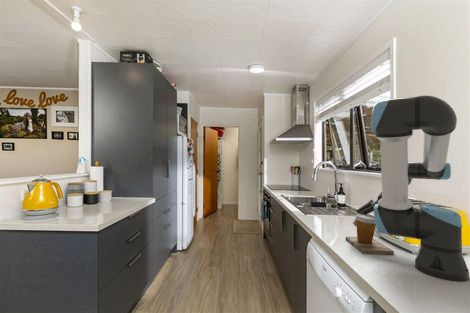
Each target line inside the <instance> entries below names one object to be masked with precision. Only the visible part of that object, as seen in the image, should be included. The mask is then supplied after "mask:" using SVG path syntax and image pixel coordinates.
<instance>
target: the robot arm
mask: <svg viewBox="0 0 470 313" xmlns="http://www.w3.org/2000/svg"><path fill="white" fill-rule="evenodd" d="M457 123H458V121H457V115H456V112H455V111H454V109H453V107H451V105H450V104H448V103H447V101H445V100H444V99H441V98H439V97H436V96H432V95H419V96H412V97H411V96H410V97H403V98H392V99H386V100H385V99H384V100H381V101H378V102H375V104H374V105H373V108H372V112H371V119H370V132H371V133H375V137H376V139H377V140H378V141H380V168H381V169H380V170H381V171H380V172H381V173H380V174H381V192H380V193H379V194H378V196H377V200H376V201H374V200H373V199H370V200H369V201H368V202H367V203H365V204H363V205H362V206H361V207H359V208H357V210H356V213H357V214H365V215H369V214H370V213H373V215H374V218H375V224H376V227H375V231H374V232H376V233H377V235H381V234H385V235H388V236H396V237H403V238H408V239H414V240H415V239H416V240H420V241H419V242H420V245H419V249H418V251H417V254H416V257H415V258H414V267H415V268H416V269H417V270H419V271H421V272H422V273H424V274H426V275H429V276H432V277H435V278H437V279H438V278H439V279H442V280H443V279H444V280H448V281H456V282H465V281H468V280H470V270H469V268H468V266H467V263H466V260H465V258H464V256H463V243H462V242H463V240H462V238H463V236H462V234H463V233H462V231H463V230H462V228H463V224H462V216H461V214H460V213H458V212H456V211H455V210H452V209H448V208H446V207H445V208H444V207H440V206H435V205H430V204H429V205H427V204H420V206H419V208H418V207H414V204H413V202H412V201H411V200H410V199H409V185H410V184H412V183H411V182H413V179H417V180H418V179H421V180H423V179H424V180H437V181H438V180H439V181H441V180H449V179H451V175H452V167H451V164H450V163H449V162H447V158H448V152H449V146H450V141H451V135H452V133H453V132H454V131H455V130H456V127H457ZM415 130H416V131H417V130H421V131H422V132H423V133H424V134H423V153H422V154H423V155H422V157H423V158H422V162H421V161H420V162H418V161H416V162H415V161H414V162H412V161H411V162H409V161H408V160H409V157H408V156H409V154H408V149H409V148H408V147H409V146H408V142H409V141H408V140H409V139H410V138H411V137H412V136H413V132H414V131H415ZM351 224H352V225H353V226H354V227H355V228H357V224H356V218H355V217H354V219H353V221H352V222H351Z"/></svg>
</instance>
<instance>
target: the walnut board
mask: <svg viewBox="0 0 470 313" xmlns="http://www.w3.org/2000/svg"><path fill="white" fill-rule="evenodd" d="M345 240H346V241H347V242H348V243H349V244H351V245H352V246H353V247H355V248H356V250H358V251H360V252H361V253H362V254H372V255H395V250H393V249H392V248H389V247H388V246H387V245H385V244H383V243H381V242H380V241H378V240H377V239H375V238H373V240H372V243H364V242H360V241H358V240H357V236H345Z"/></svg>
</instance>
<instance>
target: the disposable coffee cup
mask: <svg viewBox="0 0 470 313" xmlns="http://www.w3.org/2000/svg"><path fill="white" fill-rule="evenodd" d="M355 218H356V224H357V226H356V237H357V240H358V241H360V242H364V243H372V240H373V239H374V236H375V232H376V231H375V229H376V228H377V227H376V224H375V218H374V216H373V215H369V214H366V215H365V214H363V213H362V214H358V213H357V214H356V215H355V217H354V219H355Z"/></svg>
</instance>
